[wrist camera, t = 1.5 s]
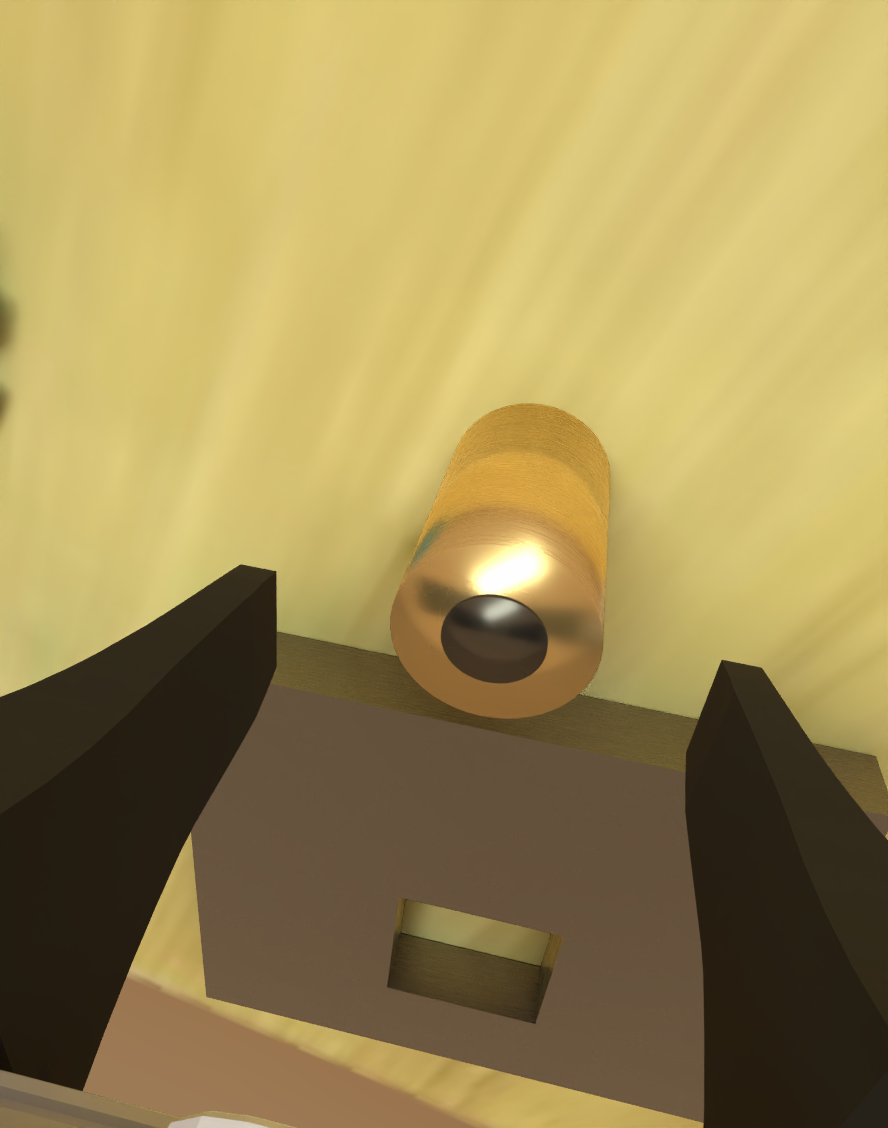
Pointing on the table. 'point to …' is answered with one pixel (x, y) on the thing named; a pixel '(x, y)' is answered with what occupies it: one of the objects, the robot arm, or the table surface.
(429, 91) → the table surface
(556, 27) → the table surface
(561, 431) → the bushing
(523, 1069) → the plate
